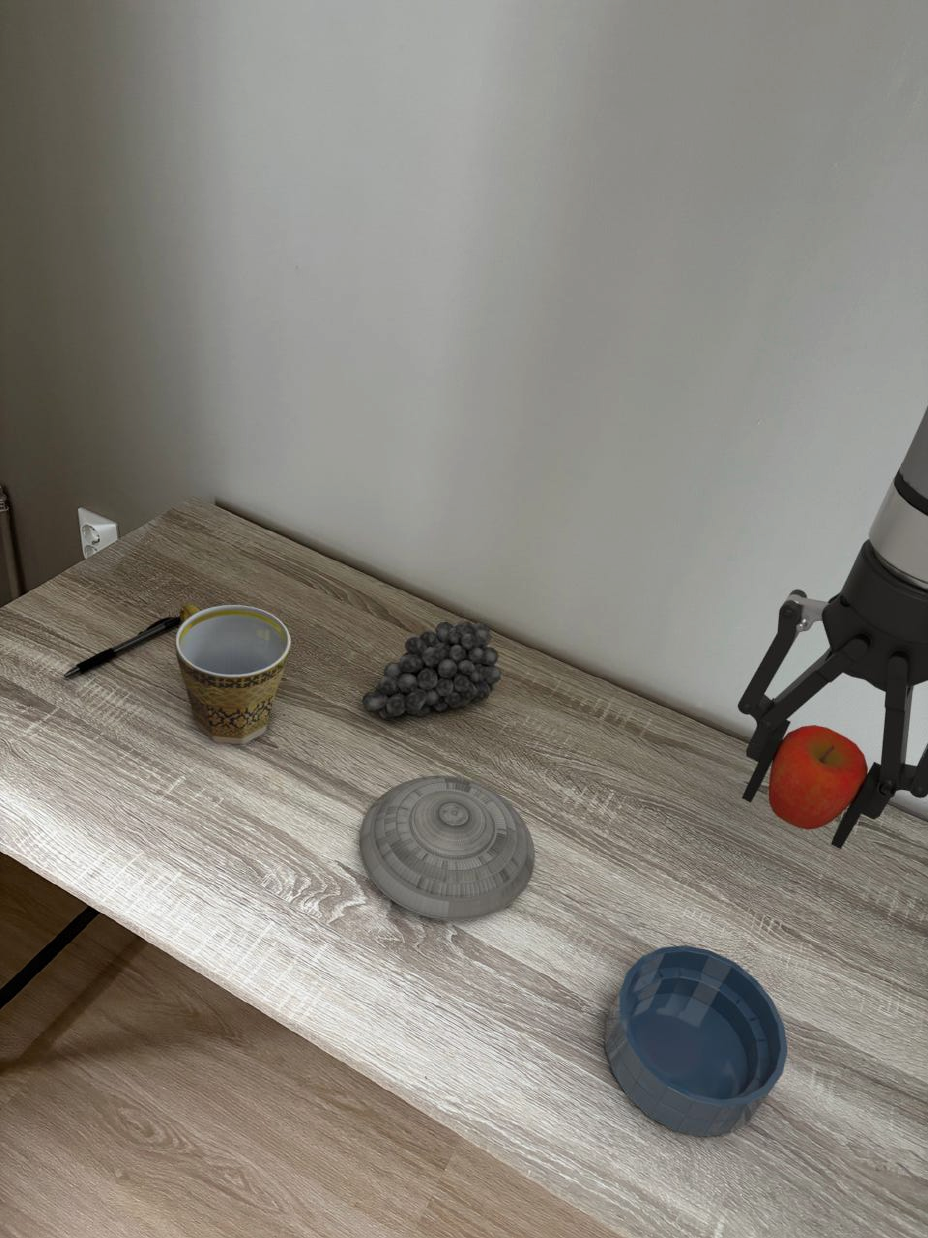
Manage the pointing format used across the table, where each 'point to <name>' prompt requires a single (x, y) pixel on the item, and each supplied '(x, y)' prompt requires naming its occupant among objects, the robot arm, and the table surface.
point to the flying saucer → (447, 848)
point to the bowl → (695, 1040)
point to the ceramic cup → (231, 668)
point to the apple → (815, 776)
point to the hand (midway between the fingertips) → (795, 812)
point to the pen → (124, 646)
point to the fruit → (438, 672)
